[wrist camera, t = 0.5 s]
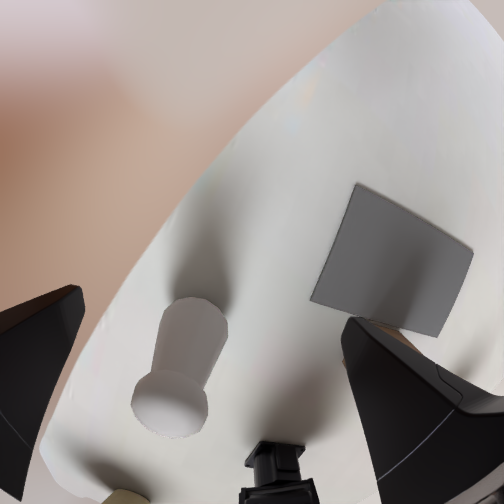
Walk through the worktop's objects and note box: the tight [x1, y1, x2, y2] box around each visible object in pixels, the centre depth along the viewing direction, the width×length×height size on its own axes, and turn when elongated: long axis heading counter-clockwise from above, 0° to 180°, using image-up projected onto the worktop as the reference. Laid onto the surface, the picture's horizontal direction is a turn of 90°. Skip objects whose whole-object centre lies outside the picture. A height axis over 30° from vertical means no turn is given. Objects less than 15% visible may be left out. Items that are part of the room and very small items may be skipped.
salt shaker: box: [131, 297, 228, 438], centre depth 18 cm, size 6×6×13 cm
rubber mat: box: [310, 185, 474, 338], centre depth 24 cm, size 11×18×1 cm, turn 70°
